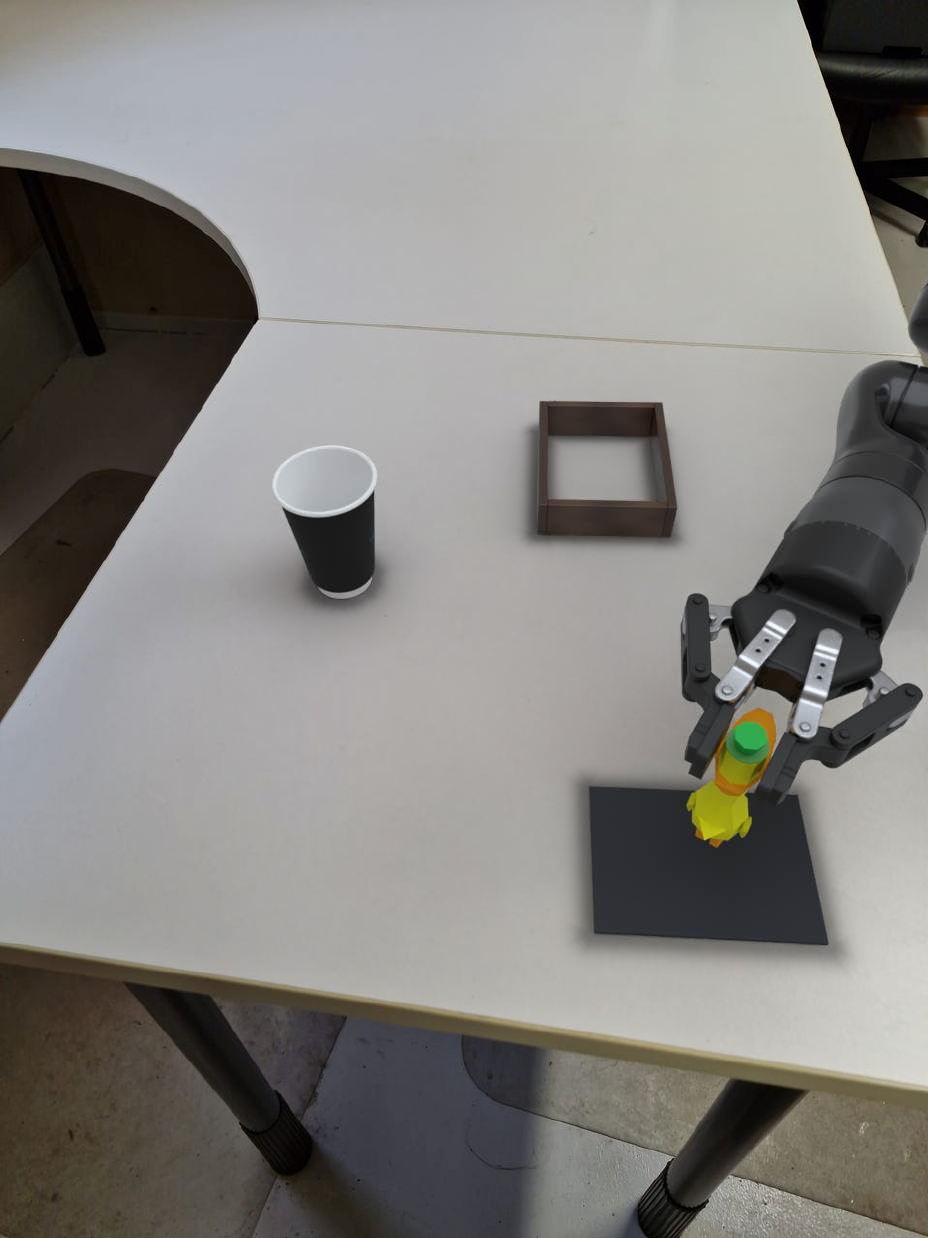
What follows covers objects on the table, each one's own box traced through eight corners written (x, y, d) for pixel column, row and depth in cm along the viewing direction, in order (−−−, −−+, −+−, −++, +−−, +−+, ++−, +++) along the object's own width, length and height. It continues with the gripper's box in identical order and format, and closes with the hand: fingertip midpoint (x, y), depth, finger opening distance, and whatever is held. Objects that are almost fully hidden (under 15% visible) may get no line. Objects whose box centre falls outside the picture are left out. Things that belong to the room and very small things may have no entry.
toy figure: (707, 771, 54) (749, 659, 45) (762, 797, 53) (816, 688, 44) (663, 857, 51) (698, 755, 42) (720, 887, 50) (770, 790, 40)
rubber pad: (796, 796, 58) (798, 794, 58) (827, 945, 52) (828, 943, 51) (589, 788, 59) (589, 786, 59) (594, 933, 53) (594, 931, 52)
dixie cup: (410, 572, 73) (399, 472, 64) (343, 628, 69) (322, 530, 60) (345, 531, 76) (325, 431, 68) (278, 582, 72) (248, 483, 64)
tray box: (657, 431, 84) (662, 401, 81) (671, 537, 74) (677, 507, 72) (538, 430, 84) (539, 400, 82) (536, 534, 75) (538, 504, 72)
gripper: (936, 654, 52) (842, 887, 43) (719, 565, 57) (596, 756, 48) (991, 571, 46) (895, 821, 37) (743, 480, 51) (608, 680, 43)
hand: (727, 783), depth 43 cm, fingers closed on toy figure, 2 cm apart
